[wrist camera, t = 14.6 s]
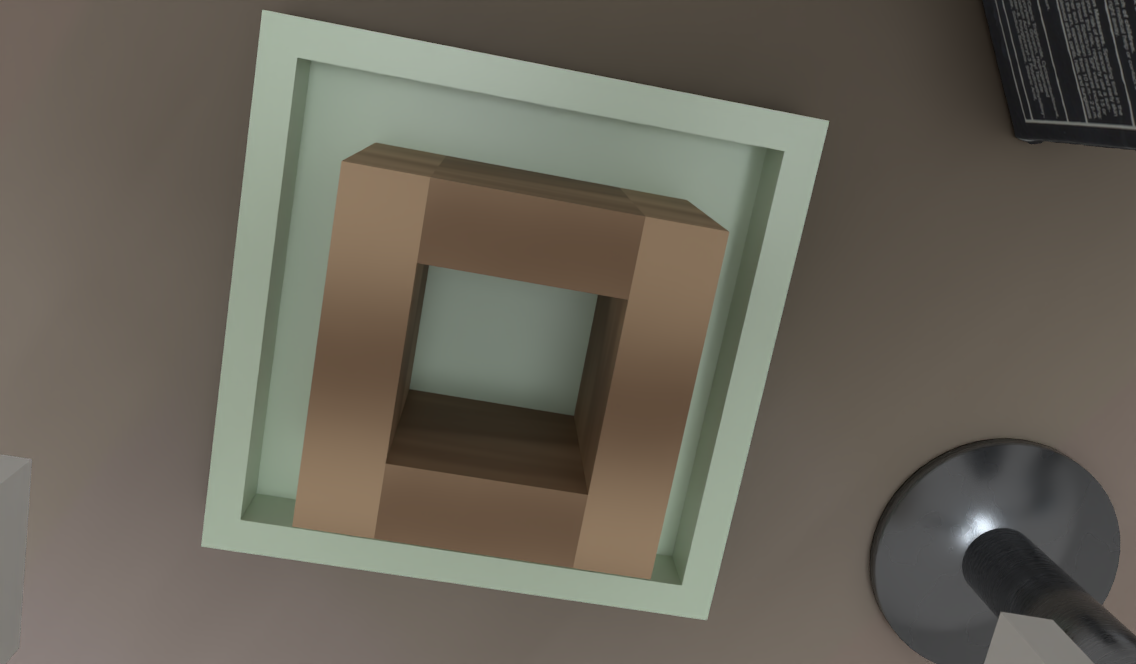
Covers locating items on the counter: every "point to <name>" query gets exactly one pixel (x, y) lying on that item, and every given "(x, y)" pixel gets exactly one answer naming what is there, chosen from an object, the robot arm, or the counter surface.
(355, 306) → the collar
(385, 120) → the tray
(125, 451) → the counter surface
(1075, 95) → the small box
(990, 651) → the robot arm
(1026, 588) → the dark grey knobbed stand
